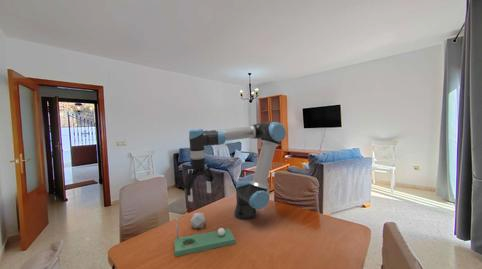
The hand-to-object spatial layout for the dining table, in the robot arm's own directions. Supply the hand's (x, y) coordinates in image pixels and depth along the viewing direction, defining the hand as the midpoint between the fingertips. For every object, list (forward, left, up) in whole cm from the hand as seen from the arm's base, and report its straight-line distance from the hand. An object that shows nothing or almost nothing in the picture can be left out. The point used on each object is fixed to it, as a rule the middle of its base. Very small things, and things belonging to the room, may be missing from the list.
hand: (200, 196), depth 113 cm
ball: (-10, +5, -19) cm, 22 cm away
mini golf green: (-1, +5, -23) cm, 24 cm away
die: (0, -14, -24) cm, 27 cm away
